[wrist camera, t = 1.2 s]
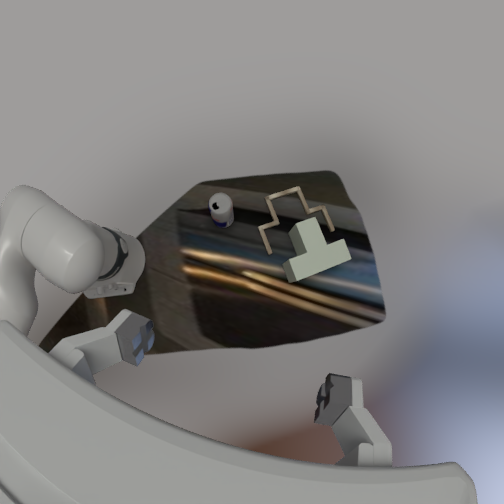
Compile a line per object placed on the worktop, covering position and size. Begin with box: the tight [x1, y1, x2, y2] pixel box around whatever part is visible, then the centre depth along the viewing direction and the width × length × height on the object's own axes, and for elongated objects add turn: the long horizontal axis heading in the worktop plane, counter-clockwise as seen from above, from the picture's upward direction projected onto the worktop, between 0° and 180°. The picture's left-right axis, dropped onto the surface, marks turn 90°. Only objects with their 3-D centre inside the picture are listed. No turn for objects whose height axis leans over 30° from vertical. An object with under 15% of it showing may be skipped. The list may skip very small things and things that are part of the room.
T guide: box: [258, 186, 335, 255], centre depth 71 cm, size 19×14×1 cm
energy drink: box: [208, 193, 234, 228], centre depth 65 cm, size 5×5×12 cm
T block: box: [282, 217, 351, 283], centre depth 66 cm, size 14×12×10 cm
